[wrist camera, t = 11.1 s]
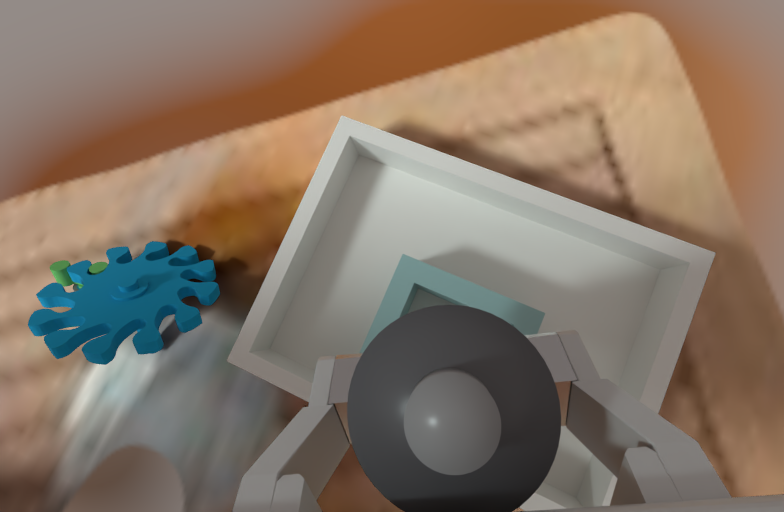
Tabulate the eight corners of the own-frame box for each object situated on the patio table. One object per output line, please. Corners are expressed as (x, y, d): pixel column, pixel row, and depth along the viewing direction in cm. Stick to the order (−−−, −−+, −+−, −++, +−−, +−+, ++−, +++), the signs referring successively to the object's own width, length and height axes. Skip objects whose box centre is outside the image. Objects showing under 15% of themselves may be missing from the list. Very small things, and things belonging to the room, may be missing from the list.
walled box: (256, 355, 28) (217, 362, 23) (354, 142, 30) (337, 107, 25) (581, 515, 24) (617, 563, 20) (674, 263, 26) (728, 249, 21)
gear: (250, 262, 27) (110, 375, 20) (261, 326, 31) (144, 442, 24) (127, 215, 31) (-33, 297, 23) (149, 278, 34) (16, 366, 27)
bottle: (381, 390, 17) (295, 482, 7) (420, 298, 17) (390, 266, 8) (475, 435, 16) (523, 606, 6) (513, 339, 17) (615, 361, 7)
